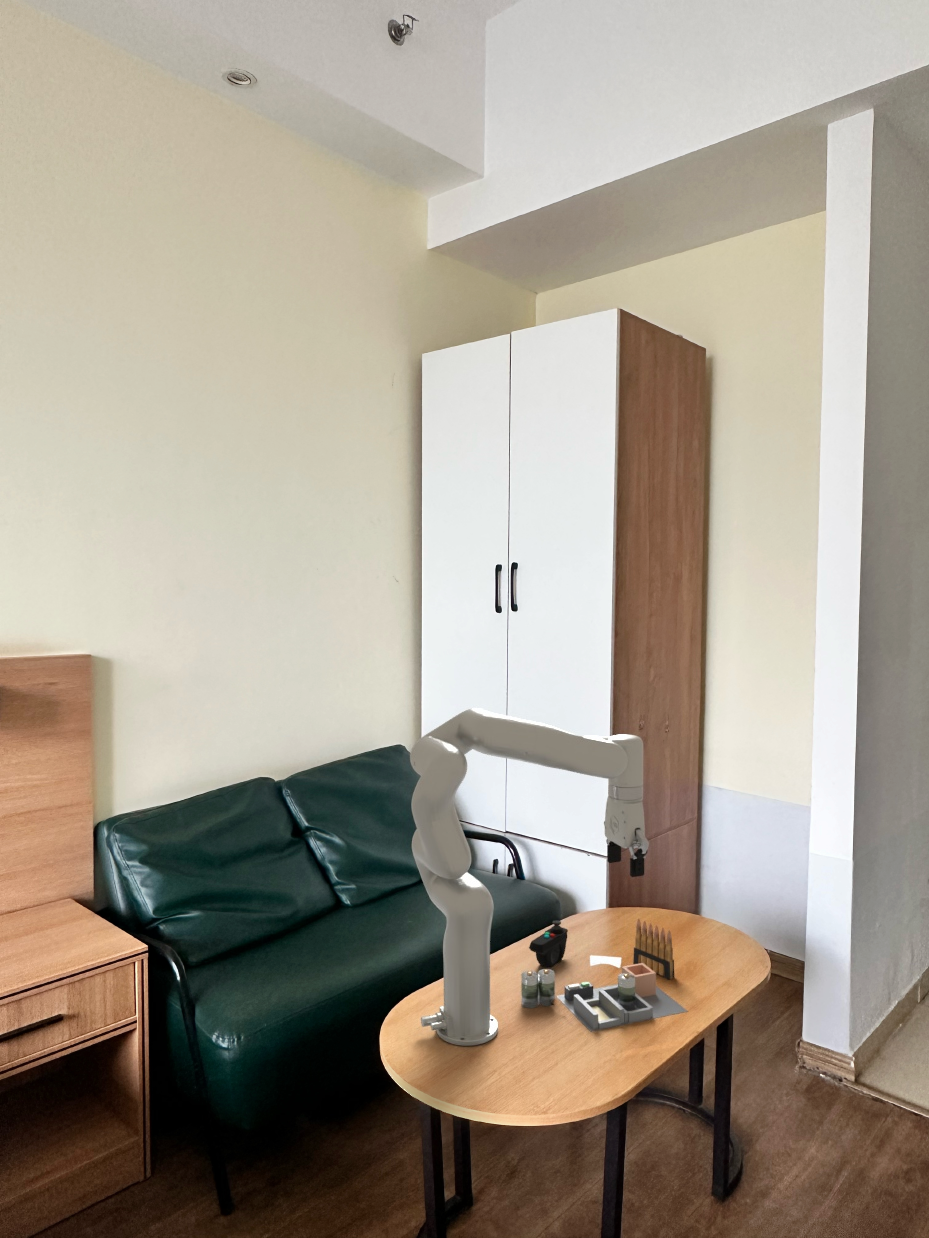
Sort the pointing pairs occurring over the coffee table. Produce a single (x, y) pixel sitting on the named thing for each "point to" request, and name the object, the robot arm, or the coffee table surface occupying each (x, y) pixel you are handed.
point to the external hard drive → (605, 960)
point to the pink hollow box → (642, 979)
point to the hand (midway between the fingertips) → (625, 868)
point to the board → (614, 1006)
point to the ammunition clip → (654, 950)
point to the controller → (550, 945)
